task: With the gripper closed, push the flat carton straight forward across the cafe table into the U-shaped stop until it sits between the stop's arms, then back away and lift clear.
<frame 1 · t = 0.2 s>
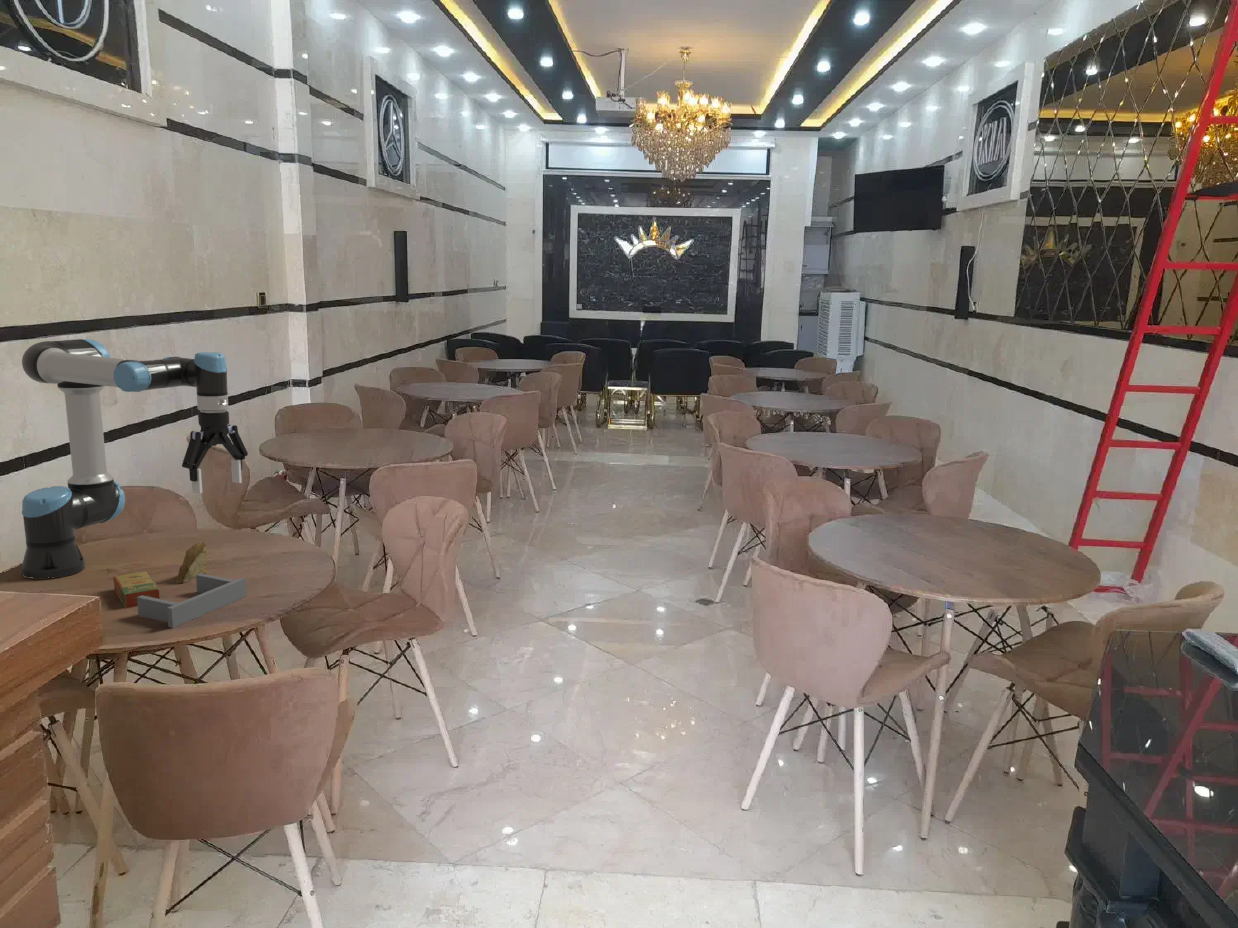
hand: (217, 487, 236), 28 cm above the table, tool pointing down, fingers open, 13 cm apart
u stop: (191, 607, 224), on the table
carton: (137, 597, 230), on the table
rock: (191, 577, 245), on the table
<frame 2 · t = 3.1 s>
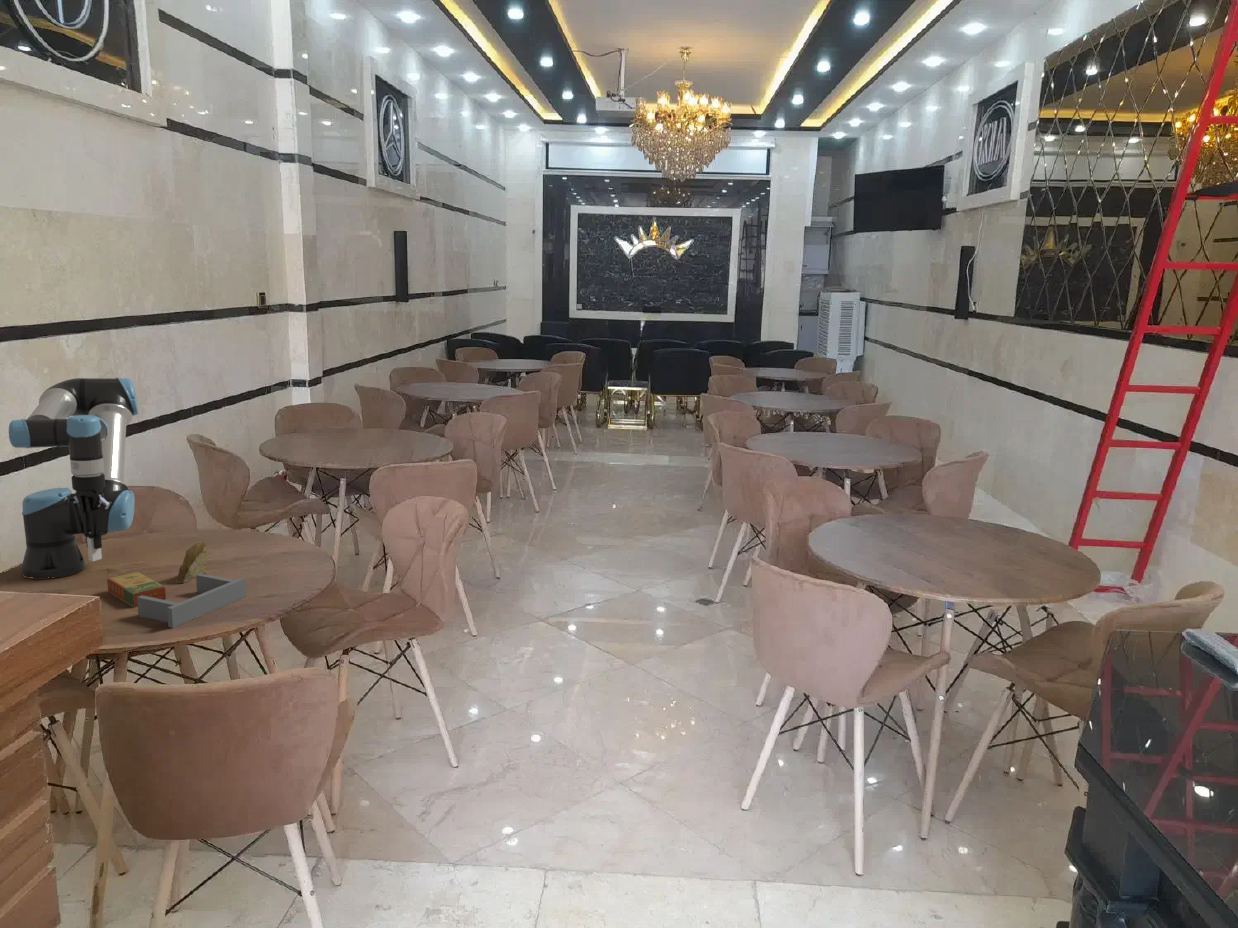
hand: (95, 559, 232), 8 cm above the table, tool pointing down, fingers closed
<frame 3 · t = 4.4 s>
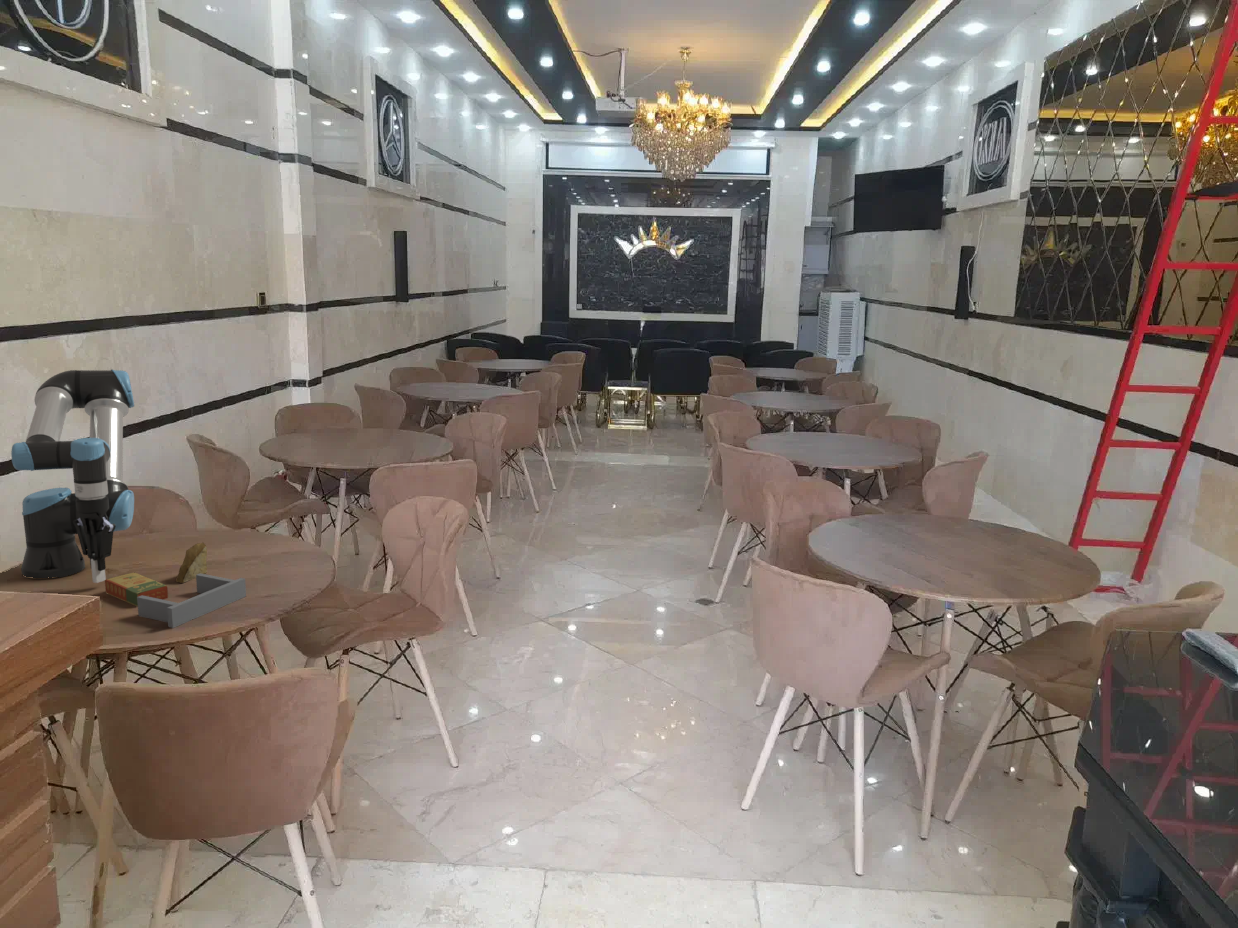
hand: (99, 580, 234), 2 cm above the table, tool pointing down, fingers closed
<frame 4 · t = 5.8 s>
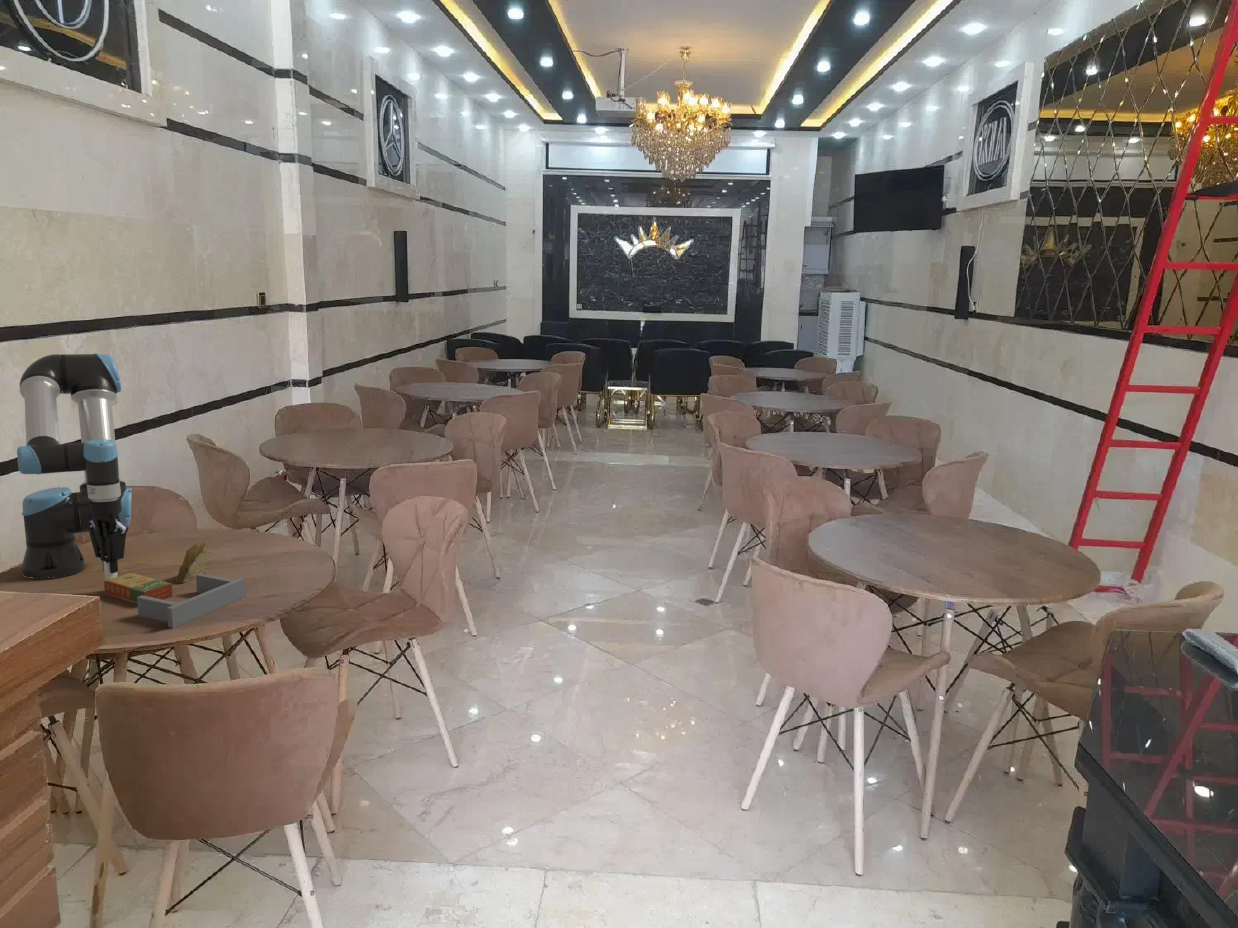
hand: (111, 583, 232), 2 cm above the table, tool pointing down, fingers closed
carton: (139, 596, 230), on the table, touching gripper
everything else where it was.
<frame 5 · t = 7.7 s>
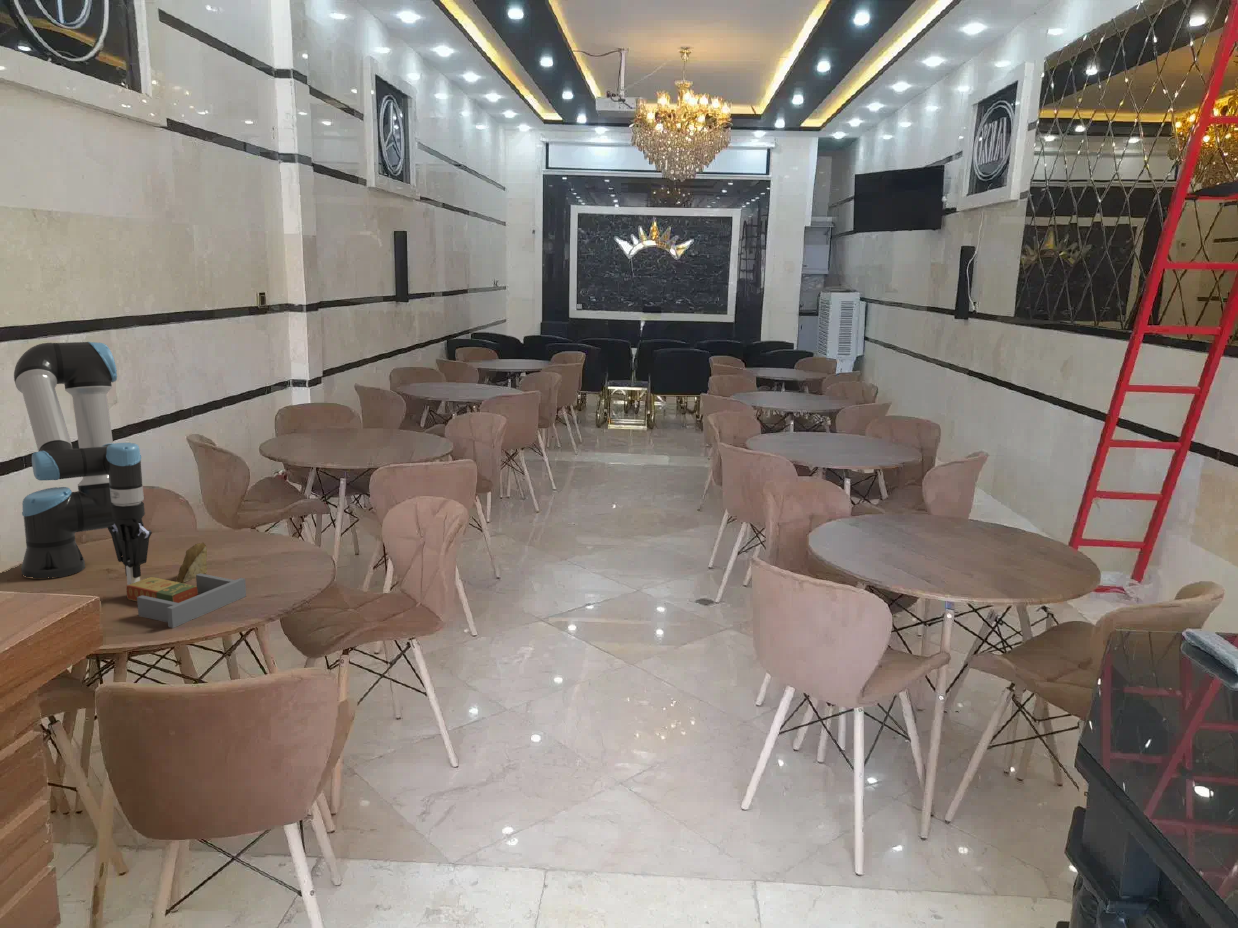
hand: (134, 588, 230), 2 cm above the table, tool pointing down, fingers closed
carton: (163, 600, 228), on the table, touching gripper
everything else where it was.
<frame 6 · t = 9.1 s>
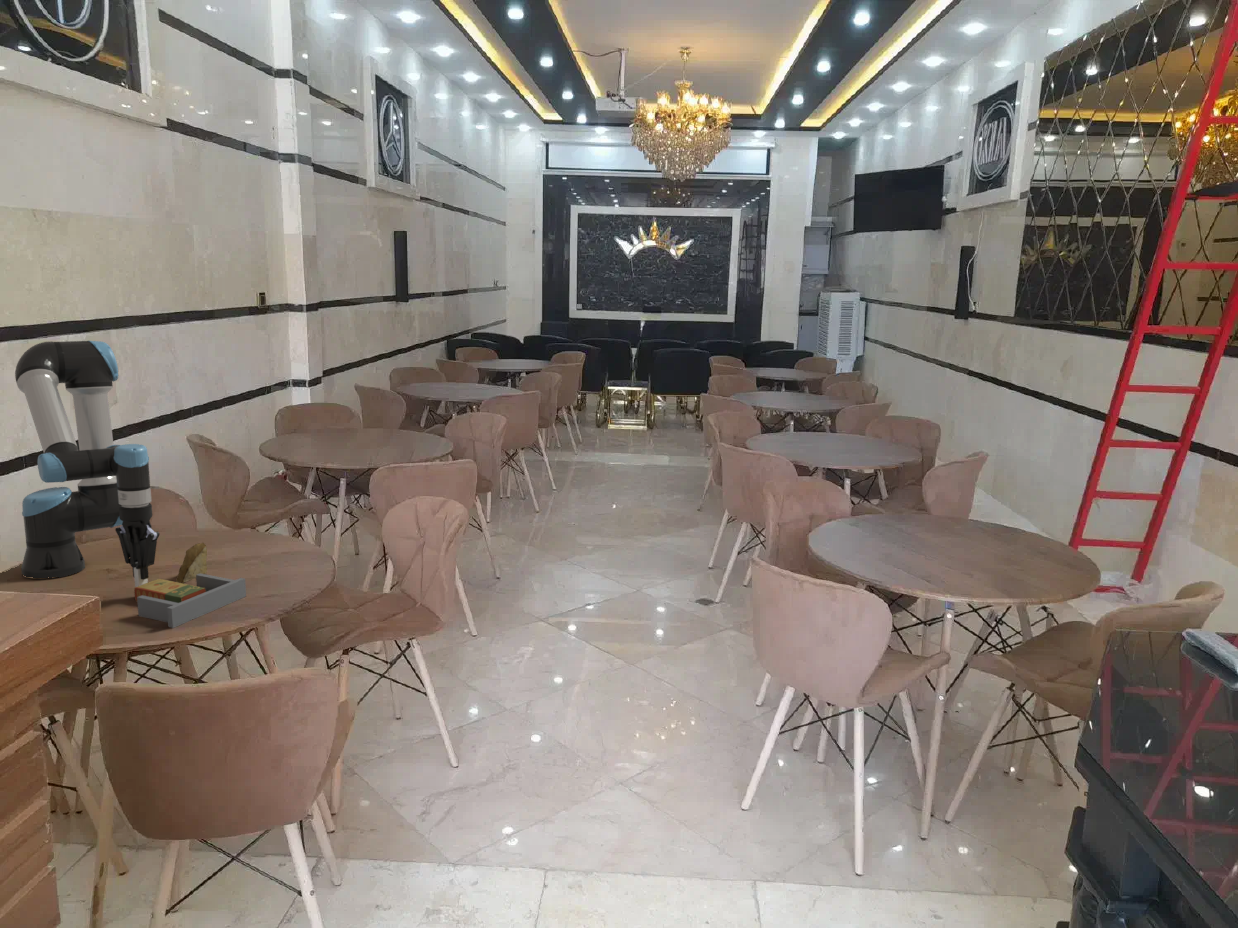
hand: (141, 589, 229), 2 cm above the table, tool pointing down, fingers closed
carton: (171, 602, 227), on the table
everything else where it was.
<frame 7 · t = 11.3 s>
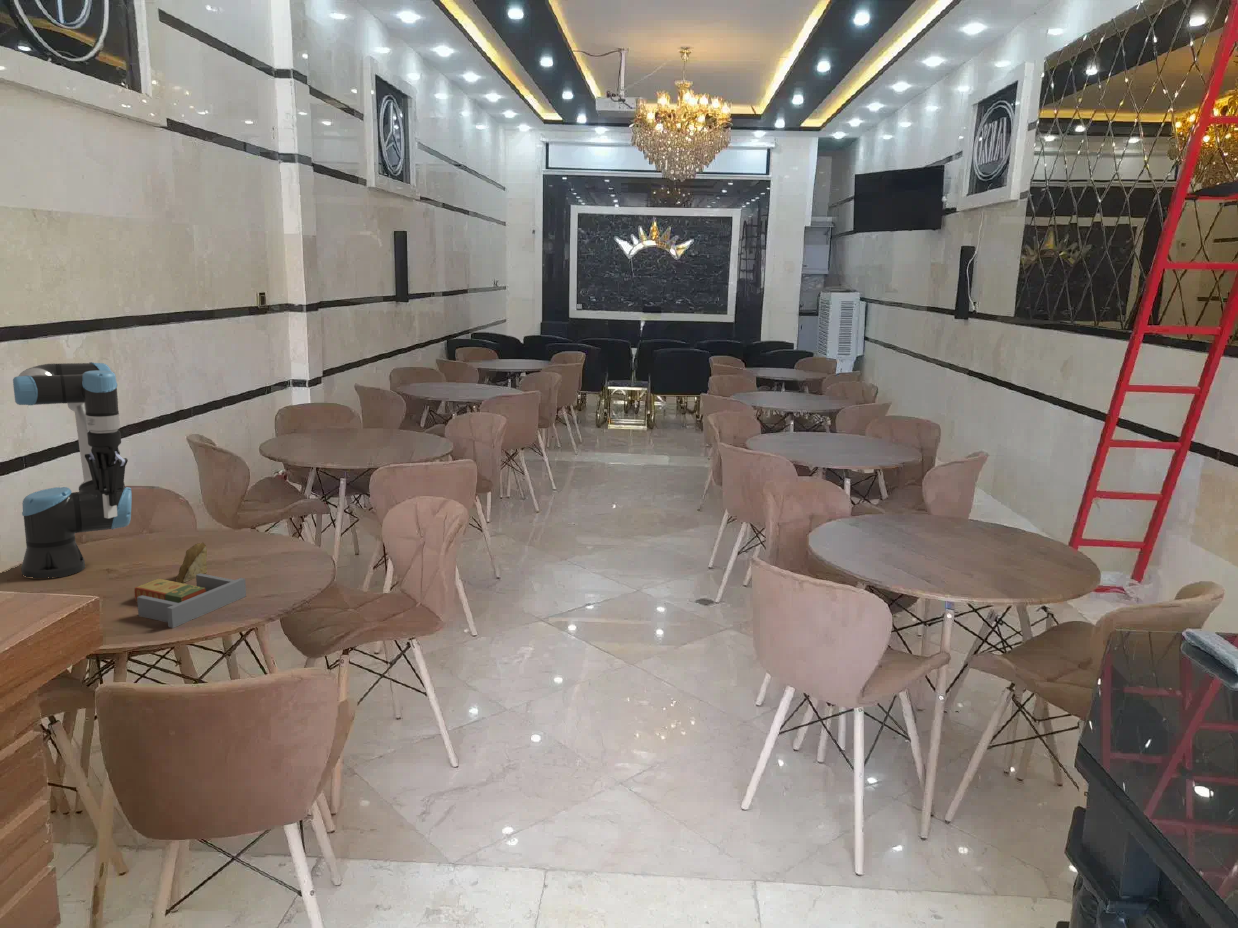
hand: (110, 516, 231), 20 cm above the table, tool pointing down, fingers closed
nothing on the table moved.
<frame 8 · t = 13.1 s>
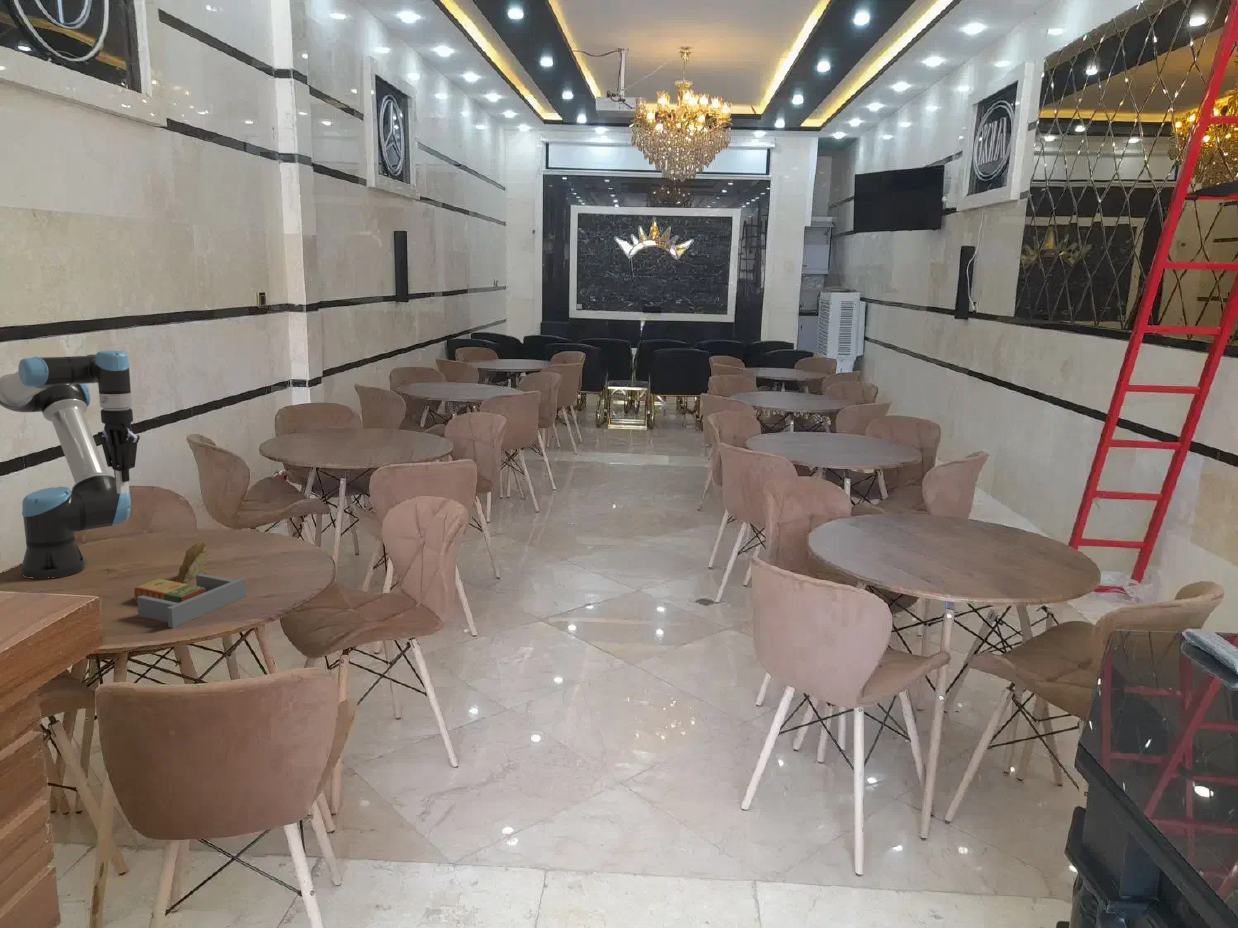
hand: (123, 492, 239), 24 cm above the table, tool pointing down, fingers closed
nothing on the table moved.
at the end: carton inside the target area (2.5 cm from its centre), on the table; carton moved 10.9 cm from its start; carton on the table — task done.
